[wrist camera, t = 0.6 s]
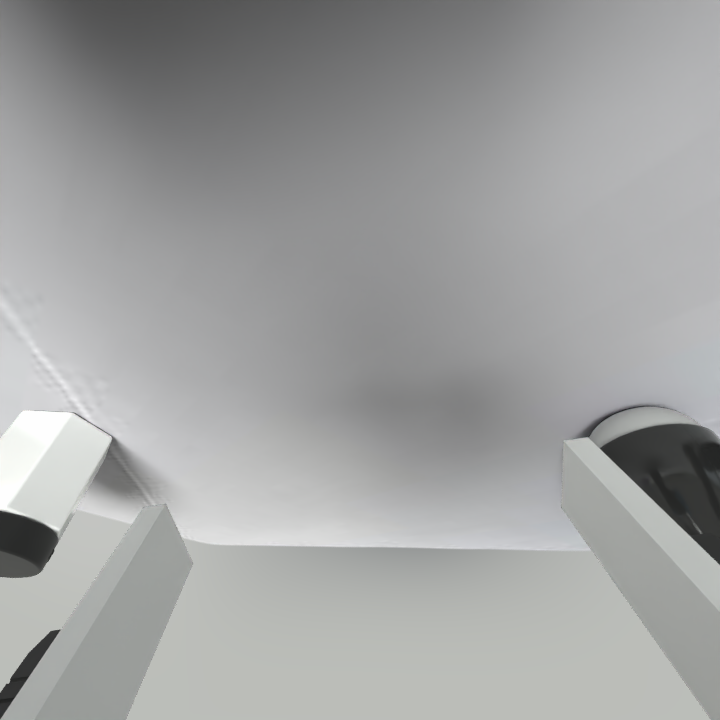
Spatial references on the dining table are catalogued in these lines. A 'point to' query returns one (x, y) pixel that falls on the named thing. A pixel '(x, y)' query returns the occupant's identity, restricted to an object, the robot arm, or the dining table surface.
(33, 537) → the jar
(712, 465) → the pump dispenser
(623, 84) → the dining table surface
